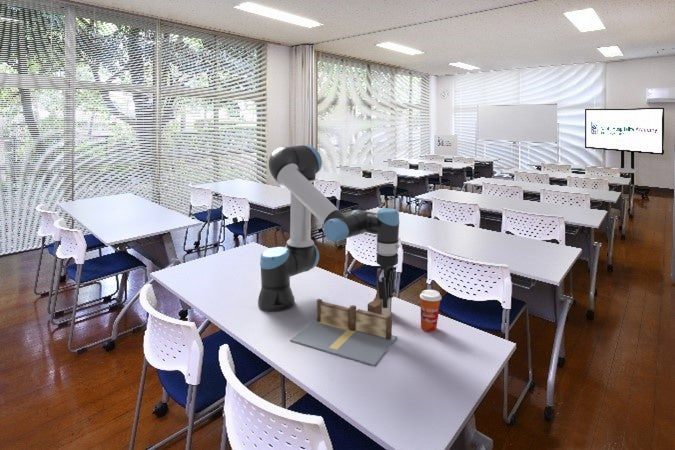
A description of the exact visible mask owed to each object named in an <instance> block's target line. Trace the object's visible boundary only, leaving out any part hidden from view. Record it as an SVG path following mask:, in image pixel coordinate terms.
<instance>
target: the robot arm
mask: <svg viewBox="0 0 675 450" xmlns="http://www.w3.org/2000/svg"><path fill="white" fill-rule="evenodd" d="M322 165H323V161H322V156H321V154H320V152H319V151H318V150H317V148H315V147H314V146H312V145H291V146H290V145H289V146H280V147H278V148H276V149H275V150H273V152H271V154H270V156H269V159H268V170H269V173H270V174H271V177H272V178H273V179H274V180H275V181H276V182H277V183H278V185H280V186H285V188H287V190H288V191H290V216H289V217H290V227H289V228H290V231H289V232H290V235H289V239H287V240H286V247H285V246H276V247H275V246H273V247H270V248H269V247H268V248H267V249H265V250H263V251H262V253H261V254H260V262H259V265H260V281H261V288H260V292H259V295H258V299H257V307H258V308H259V309H260V310H263V311H265V312H271V313H273V312H274V313H276V312H284V311H287V310H290V309H291V308H293V307H294V305H295V296H294V293H293V290H292V288H291V282H290V281H291V280H290V279H291V277H293V276H296V275H300V274H302V273H305V272H308V271H310V270H313V269H314V268H316V267H317V265H318V263H319V260H320V251H319V250H318V247H317V246H316V245H315V242H314V240H313V239H312V238H311V236H312V235H311V233H312V232H311V230H312V229H311V227H312V226H311V224H312V223H311V222H312V215H313V216H314V217H315V218H316V219H317V220H318V221H319V222H320V223H321V224H322V225H323V234H324V235H325V238H326V239H328V240H329V241H331V242H338V241H343V240H346V239H348V238H351V237H355V236H358V235H359V236H360V235H361V234H365V233H367V234H371V235H376V252H377V253H376V264H377V265H379V266H380V268H381V269H380V268H379V269H380V276H377V275H376V282H377V281H378V288H379V298H380V299H382V315H386V316H391V312H390V303H391V304H392V302H391V298H390V297H392V298H394V295H393V293H394V289H395V288H394V286H395V279H396V272H397V265H398V264H399V248H400V247H401V246H400V245H399V232H400V212H399V211H398V209H395V208H387V207H384V208H380V209H378V210H377V212H373V211H368V210H367V211H366V210H363V209H354V210H352V211H351V212H350V213H349V214H347V215H345V214H344V213H343V212H342V211H341V210H340V209H338V208H337V206H335V204H334V203H332V202H331V200H329V199H328V198H327V197H326V195H324V194H323V193H322V192H321V191H320V190H319V189H318V188H317V187H316V186H315V185H314V184H313V183H314V182H315V181H316V175H317V173H319V172H320V170H321V168H322ZM391 294H392V295H391Z"/></svg>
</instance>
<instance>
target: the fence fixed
mask: <svg viewBox="0 0 675 450" xmlns="http://www.w3.org/2000/svg"><path fill="white" fill-rule="evenodd" d="M356 311H357V305H354V304H353V305H349V307H348V306H343V305H338V304H335V303H330V302H326V301H323V299H321V298H319V299H316V319H317V322H323V323H327V324H331V325H335V326H339V327H342V328H346V329H349V330H351V331H355V330H356Z"/></svg>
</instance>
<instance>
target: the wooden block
mask: <svg viewBox="0 0 675 450" xmlns="http://www.w3.org/2000/svg"><path fill="white" fill-rule="evenodd" d="M380 269H381V267H380V268H377V270H376V277H377V276H380ZM391 295H393V294H391ZM390 298H391V303H390V313H392V300H393V299H392V297H390ZM367 311H369V312H373V313H377V314H382V299H380V298H379V288H378V281H377V280H376V293H375V297H374V299H372V301H370V302H368V303H367Z"/></svg>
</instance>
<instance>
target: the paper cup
mask: <svg viewBox="0 0 675 450" xmlns="http://www.w3.org/2000/svg"><path fill="white" fill-rule="evenodd" d="M419 297H420V329H421V330H422V331H424V332H427V333H433V332H436V331H437V328H438V327H437V326H438V320H439V315H440V314H439V313H440V312H439V311H440V303H441V300H442V295H441V294H440V292H439V291H438V290H435V289H425V290H422V291H421V292H420V294H419Z"/></svg>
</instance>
